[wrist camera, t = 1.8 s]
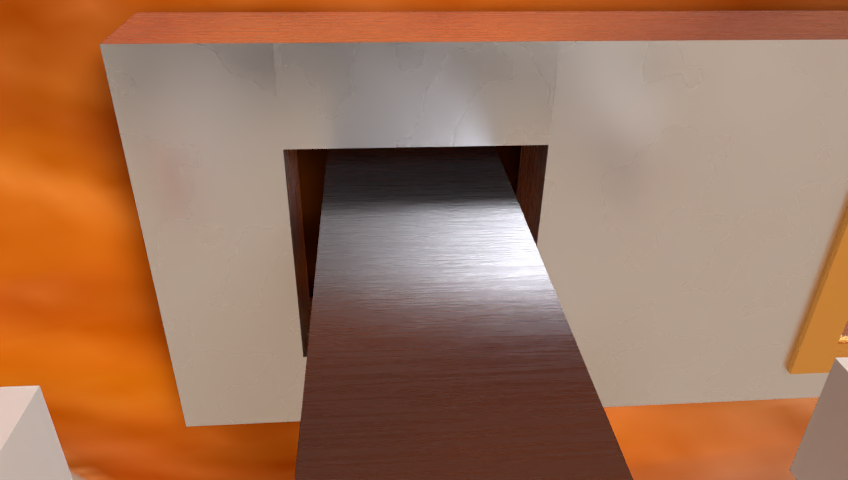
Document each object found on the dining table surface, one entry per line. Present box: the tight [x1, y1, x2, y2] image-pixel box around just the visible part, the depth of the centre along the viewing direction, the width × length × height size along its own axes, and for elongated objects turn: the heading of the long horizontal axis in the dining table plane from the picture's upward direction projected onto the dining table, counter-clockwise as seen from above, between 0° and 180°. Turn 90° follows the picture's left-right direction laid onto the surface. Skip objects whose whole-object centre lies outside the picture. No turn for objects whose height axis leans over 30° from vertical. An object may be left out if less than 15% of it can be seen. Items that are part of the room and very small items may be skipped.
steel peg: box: [295, 146, 633, 480], centre depth 13 cm, size 4×4×11 cm
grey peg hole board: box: [100, 11, 848, 427], centre depth 17 cm, size 10×26×3 cm, turn 89°
